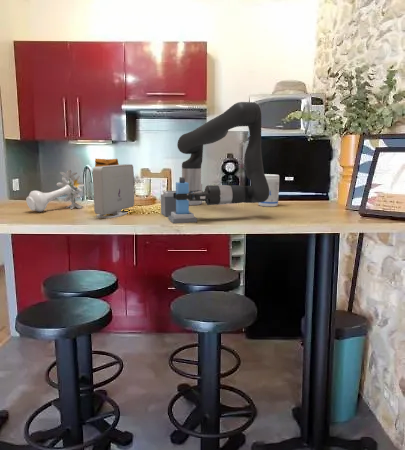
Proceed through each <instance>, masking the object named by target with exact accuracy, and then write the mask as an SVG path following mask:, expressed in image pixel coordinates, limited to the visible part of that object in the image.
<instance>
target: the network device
mask: <svg viewBox="0 0 405 450" xmlns="http://www.w3.org/2000/svg"><path fill="white" fill-rule="evenodd" d="M134 176H135V175H134V165H133V164H129V163H127V164H119V165H110V166H98V167H95V166H94V167H93V168H92V183H93V184H92V187H93V188H92V189H93V208H94V213H95V214H96V215H95V217H96V218H100V219H116V218H120V217H122V216H126V215H128V214H127V213H128V212H125V211H124V212H123V211H121V210H122V209H123V210H127V209H129V208H133V207H134V205H135V186H134V185H135V181H134V179H135V177H134ZM106 214H113V215H106Z"/></svg>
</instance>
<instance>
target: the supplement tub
mask: <svg viewBox="0 0 405 450" xmlns="http://www.w3.org/2000/svg"><path fill="white" fill-rule="evenodd" d="M264 175H265V177H266V180H267V183H268V186H269V197H268V199H267V200H266V201H264V202H259V203H257V204H258V206H260V207H265V208H266V207H277V206H278V205H279V196H280V195H279V191H280V175H279V174H271V173H270V174H269V173H268V174H267V173H264Z"/></svg>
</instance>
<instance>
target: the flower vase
mask: <svg viewBox="0 0 405 450" xmlns="http://www.w3.org/2000/svg"><path fill="white" fill-rule="evenodd" d="M59 174H60V175H62V176H61V182H57V183H56V186H57V187H59V189H56V190H53V191H50V192H42V191H40V190H31V191H30V192H29V194H28V196H27V197H26V198H25V199H26V200H25V201H26V204H27V207H28V208H29V210H31V211H35V212H38V213H40V212H43V211H44V210H46V208H47V205H48V204H49V203H50V202H51V201H53V200H54V199H57V198H59V197H62V196H65V195H66V196H65V198H64V202H69V201H70V203H71V204H70V205H68V206H66V207H65V208H66V209H71V210H72V209H74V208H77V209H82V207H83V206H82V205H80V204H79V203H77V202H76V199H80V198H81V197H82V196H81V194H79V193H81V192H82V191H83V188H81V187H84V186H85V184H84V183H83V182H81V177H80V175H78V172H73V173H72V170H71V169H68V170H67V171H66V172H63V171H59ZM76 175H77V177H75V176H76ZM67 179H68V180H67Z"/></svg>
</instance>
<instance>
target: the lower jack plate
mask: <svg viewBox="0 0 405 450" xmlns="http://www.w3.org/2000/svg"><path fill="white" fill-rule="evenodd" d="M167 219H168V221H170V222H171V223H172V224H185V223H187V224H188V223H189V222H191V223H197V222H198V218H197V217H196V216H195V213H193V212H191V211H190V210H189V214H176V212H171V215H168V217H167Z"/></svg>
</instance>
